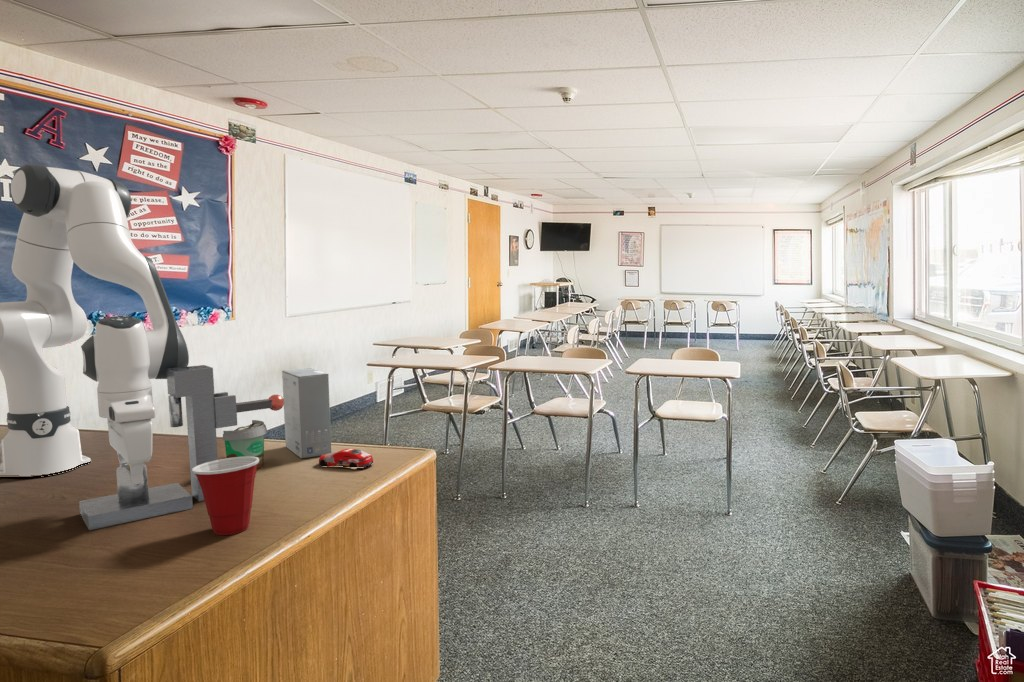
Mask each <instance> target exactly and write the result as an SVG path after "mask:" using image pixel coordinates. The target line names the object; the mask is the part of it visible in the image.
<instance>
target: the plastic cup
mask: <svg viewBox="0 0 1024 682" xmlns="http://www.w3.org/2000/svg"><path fill="white" fill-rule="evenodd" d="M258 463H259V458H258V457H233V458H227V457H226V458H220V459H218V460H215V461H211V462H207V463H204V464H201V465H198V466H196V467H194V468H192V471H193V473H195V475H196V477H197V478H198V481H199V483H200V486H201V489H202V493H203V496H204V504H205V508H206V511H207V515H208V517H209V520H210V526H211V530H212V531H213V533H214V534H216V535H220V536H229V535H236V534H239V533H243V532H244V531H246V530H247V529H248V528H249V525H250V519H251V514H252V513H251V511H252V506H253V499H254V498H253V497H254V489H255V479H256V476H257V475H256V473H257V471H256V468H257V465H258Z"/></svg>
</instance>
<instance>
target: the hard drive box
mask: <svg viewBox="0 0 1024 682" xmlns="http://www.w3.org/2000/svg"><path fill="white" fill-rule="evenodd" d="M281 375H282V376H281V377H282V378H281V379H282V395H283V396H282V398H283V399H284V406H283V416H284V417H283V418H284V434H285V437H284V439H285V447H286V448H287V449H289V451H292V453H294V454H295V455H296V456H297V457H298V458H300V459H306V458H311V457H312V458H313V457H320V456H322V455H324V454H328V453H333V452H332V432H331V431H332V429H331V406H330V403H331V402H330V385H329V383H330V381H329V376H330V375H329V373H327V372H324V371H321V370H318V369H314V368H307V367H306V368H298V369H297V368H296V369H286V370H285V369H284V370H282V371H281Z"/></svg>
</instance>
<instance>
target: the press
mask: <svg viewBox="0 0 1024 682" xmlns="http://www.w3.org/2000/svg"><path fill="white" fill-rule="evenodd" d="M166 371H167V379H166V384H167V395H168V398H167V399H168V409H169V410H168V412H169V425H170V426H169V427H170V428H179V427H183V426H184V420H183V419H184V418H183V407H182V405H183V404H182V398H183V397H184V398H185V411H186V412H185V413H186V427H187V440H188V456H189V472H190V488H191V493H190V492H188V490H186V489H185V488H184V487H183V486H182V485H180V483H179V482H174V483H168V484H162V485H158V486H157V485H156V486H152V487H148V492H149V497H148V498H147V499H145V500H142V501H138V502H132V503H121V502H119V500H118V493H115V494H109V495H105V496H100V497H99V496H98V497H93V498H90V499H84V500H79V501H78V504H79V505H78V506H79V515H80V514H81V515H80V517H81V516H82V517H81V518H82V520H83V522H84V523H85V525H86V528H87V529H88V530H89V531H94V530H98V529H103V528H106V527H112V526H117V525H120V524H121V525H122V524H125V523H130V522H131V523H132V522H137V521H139V520H144V519H150V518H153V517H159V516H163V515H168V514H173V513H179V512H183V511H187V510H191V509H193V508H194V505H193V498H194V499H195V500H196V501H197V502H205V500H204V496H203V493H202V489H201V486H200V483H199V481H198V478H197V477H196V475H195V473H193V471H192V468H194V467H196V466H198V465H201V464H204V463H207V462H211V461H215V460H219V457H218V441H217V429H221V428H228V427H235V426H238V413H237V409H236V403H237V397H236V394H235V395H234V394H231V395H229V393H228V391H223V392H216V393H215V379H214V368H213V367H211V366H209V365H205V364H201V365H190V366H189V365H188V366H187V367H178V368H167V369H166Z"/></svg>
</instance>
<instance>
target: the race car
mask: <svg viewBox="0 0 1024 682" xmlns="http://www.w3.org/2000/svg"><path fill="white" fill-rule="evenodd" d="M372 463H374V458H373V454H371V453H369V452H366V451H363V450H360V449H356V448H345V449H341V450H339V451H337V452H332V453H328V454H324V455H320V456H319V459H318V465H319V466H320V467H321V466H343V467H365V468H367V467H366V466H368V467H370V466H372V465H373V464H372ZM371 464H372V465H371ZM369 465H370V466H369Z"/></svg>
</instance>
